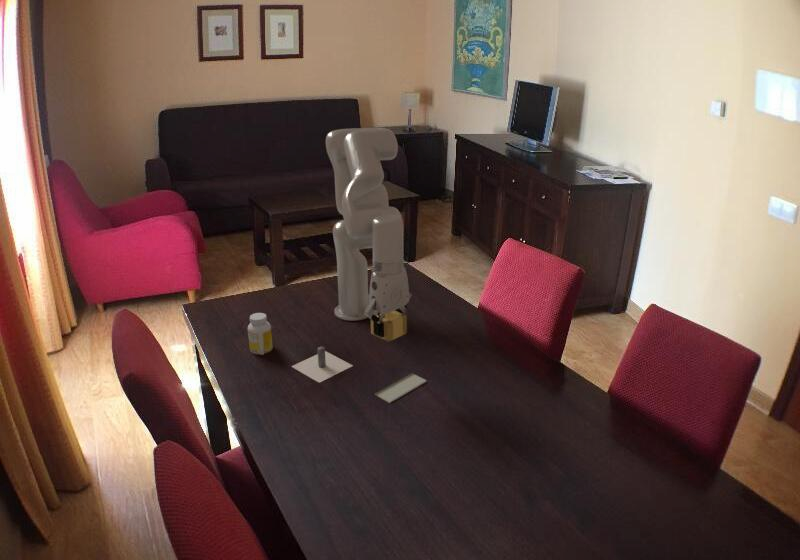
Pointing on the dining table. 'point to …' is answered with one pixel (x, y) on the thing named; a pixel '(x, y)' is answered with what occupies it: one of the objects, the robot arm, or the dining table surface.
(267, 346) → the pill bottle
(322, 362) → the stand
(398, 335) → the c link
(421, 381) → the mat
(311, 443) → the dining table surface
